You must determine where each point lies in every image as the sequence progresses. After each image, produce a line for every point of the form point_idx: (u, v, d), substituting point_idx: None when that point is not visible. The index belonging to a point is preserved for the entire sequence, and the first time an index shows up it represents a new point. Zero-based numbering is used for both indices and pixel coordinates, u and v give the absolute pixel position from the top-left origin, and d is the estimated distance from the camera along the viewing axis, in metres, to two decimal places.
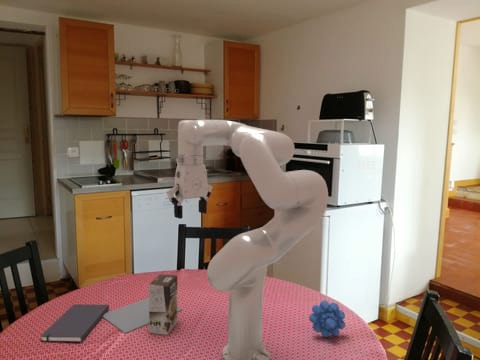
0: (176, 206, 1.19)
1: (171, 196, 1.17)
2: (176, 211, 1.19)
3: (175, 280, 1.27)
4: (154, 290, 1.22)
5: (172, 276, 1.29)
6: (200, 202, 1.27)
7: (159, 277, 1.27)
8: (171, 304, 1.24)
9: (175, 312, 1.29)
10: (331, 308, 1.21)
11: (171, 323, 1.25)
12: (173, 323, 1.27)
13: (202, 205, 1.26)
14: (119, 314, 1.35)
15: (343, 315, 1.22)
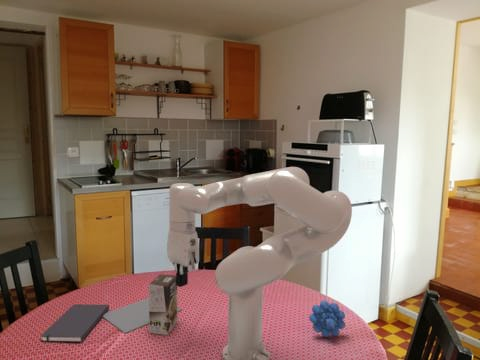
0: (185, 274, 1.17)
1: None
2: (185, 279, 1.18)
3: (175, 280, 1.27)
4: (154, 290, 1.22)
5: (172, 276, 1.29)
6: None
7: (159, 277, 1.27)
8: (171, 304, 1.24)
9: (175, 312, 1.29)
10: (331, 308, 1.21)
11: (171, 323, 1.25)
12: (173, 323, 1.27)
13: None
14: (119, 314, 1.35)
15: (343, 315, 1.22)
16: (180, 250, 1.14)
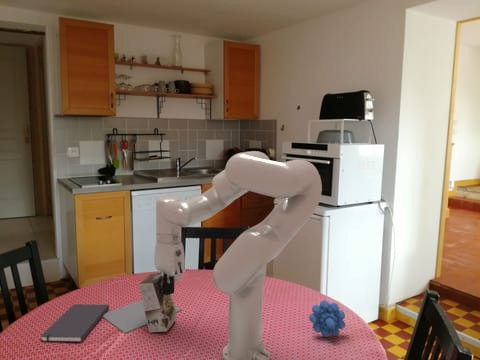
0: (172, 283, 1.23)
1: None
2: (172, 288, 1.23)
3: None
4: (145, 289, 1.22)
5: None
6: None
7: (149, 276, 1.28)
8: (165, 300, 1.25)
9: (172, 308, 1.29)
10: (331, 308, 1.21)
11: (169, 319, 1.25)
12: (171, 319, 1.27)
13: None
14: (119, 314, 1.35)
15: (343, 315, 1.22)
16: (166, 260, 1.19)
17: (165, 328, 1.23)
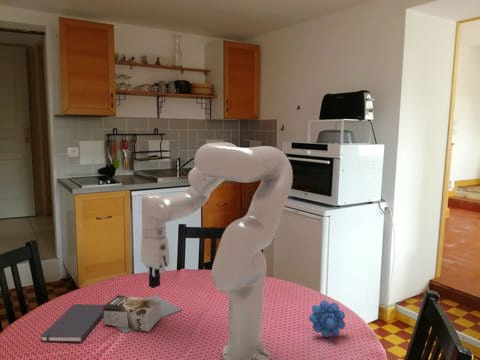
0: (157, 276, 1.28)
1: None
2: (157, 281, 1.28)
3: (117, 297, 1.33)
4: (108, 319, 1.27)
5: None
6: None
7: None
8: (128, 305, 1.28)
9: (145, 301, 1.30)
10: (331, 308, 1.21)
11: (146, 307, 1.26)
12: (150, 305, 1.28)
13: None
14: None
15: (343, 315, 1.22)
16: (152, 254, 1.24)
17: (145, 314, 1.23)
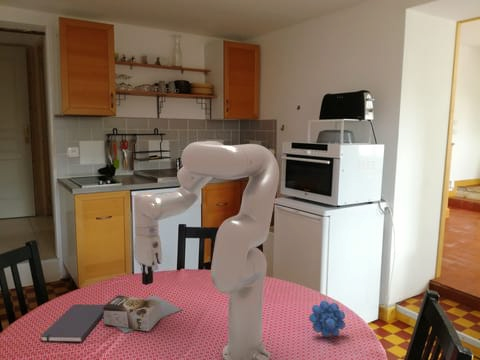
0: (150, 273, 1.31)
1: None
2: (150, 278, 1.31)
3: (117, 297, 1.33)
4: (108, 319, 1.27)
5: None
6: None
7: None
8: (128, 305, 1.28)
9: (145, 301, 1.30)
10: (331, 308, 1.21)
11: (146, 307, 1.26)
12: (151, 305, 1.28)
13: None
14: None
15: (343, 315, 1.22)
16: (144, 252, 1.27)
17: (146, 314, 1.23)
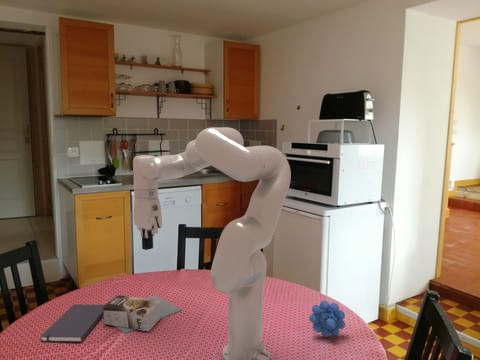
0: (150, 238, 1.29)
1: None
2: (150, 243, 1.29)
3: (117, 297, 1.33)
4: (108, 319, 1.27)
5: None
6: None
7: None
8: (128, 305, 1.28)
9: (145, 301, 1.30)
10: (331, 308, 1.21)
11: (146, 307, 1.26)
12: (151, 305, 1.28)
13: None
14: None
15: (343, 315, 1.22)
16: (144, 215, 1.25)
17: (146, 314, 1.23)
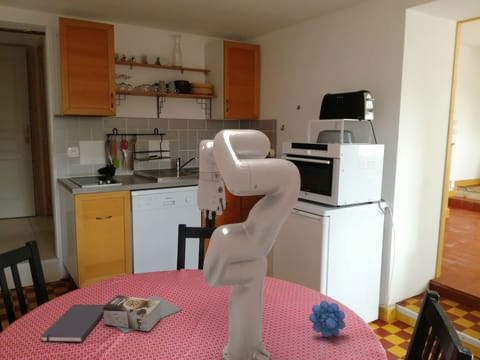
0: (213, 219, 1.35)
1: None
2: (213, 223, 1.35)
3: (117, 297, 1.33)
4: (108, 319, 1.27)
5: None
6: None
7: None
8: (128, 305, 1.28)
9: (145, 301, 1.30)
10: (331, 308, 1.21)
11: (146, 307, 1.26)
12: (151, 305, 1.28)
13: None
14: None
15: (343, 315, 1.22)
16: (209, 197, 1.31)
17: (146, 314, 1.23)
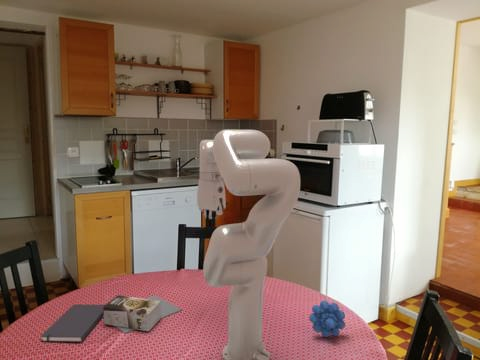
0: (214, 219, 1.35)
1: None
2: (214, 223, 1.35)
3: (117, 297, 1.33)
4: (108, 319, 1.27)
5: None
6: None
7: None
8: (128, 305, 1.28)
9: (145, 301, 1.30)
10: (331, 308, 1.21)
11: (146, 307, 1.26)
12: (151, 305, 1.28)
13: None
14: None
15: (343, 315, 1.22)
16: (209, 197, 1.31)
17: (146, 314, 1.23)
